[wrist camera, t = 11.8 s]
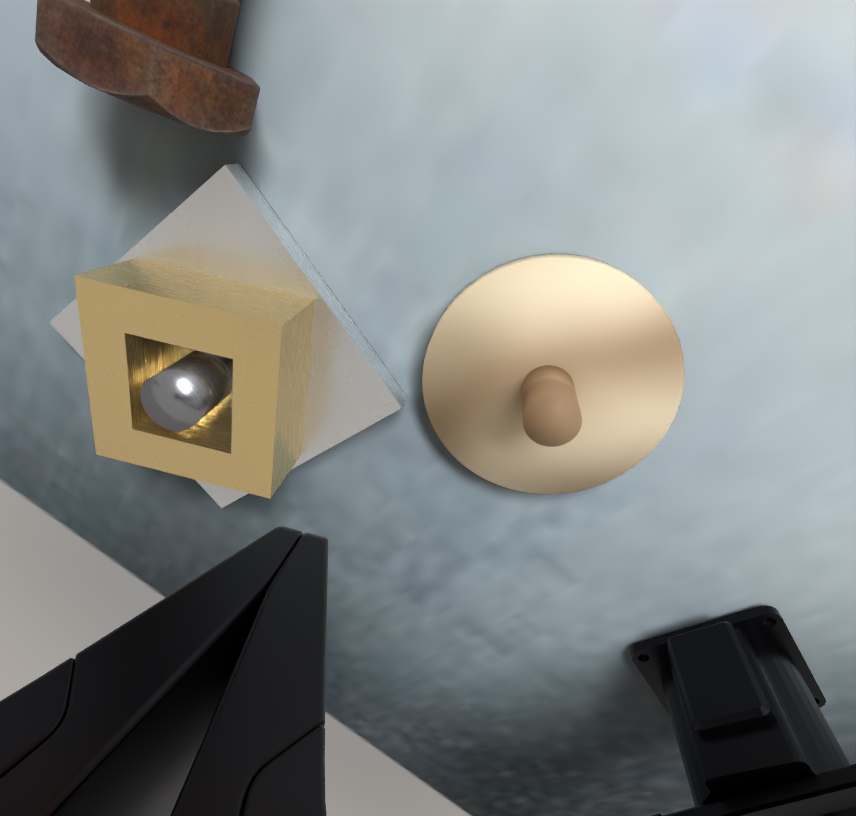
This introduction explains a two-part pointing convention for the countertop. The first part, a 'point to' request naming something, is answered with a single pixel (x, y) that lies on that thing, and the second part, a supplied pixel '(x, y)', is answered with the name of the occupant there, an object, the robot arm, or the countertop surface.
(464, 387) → the stand
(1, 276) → the countertop surface
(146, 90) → the bolt
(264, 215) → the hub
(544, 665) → the countertop surface
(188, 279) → the brass square sleeve
